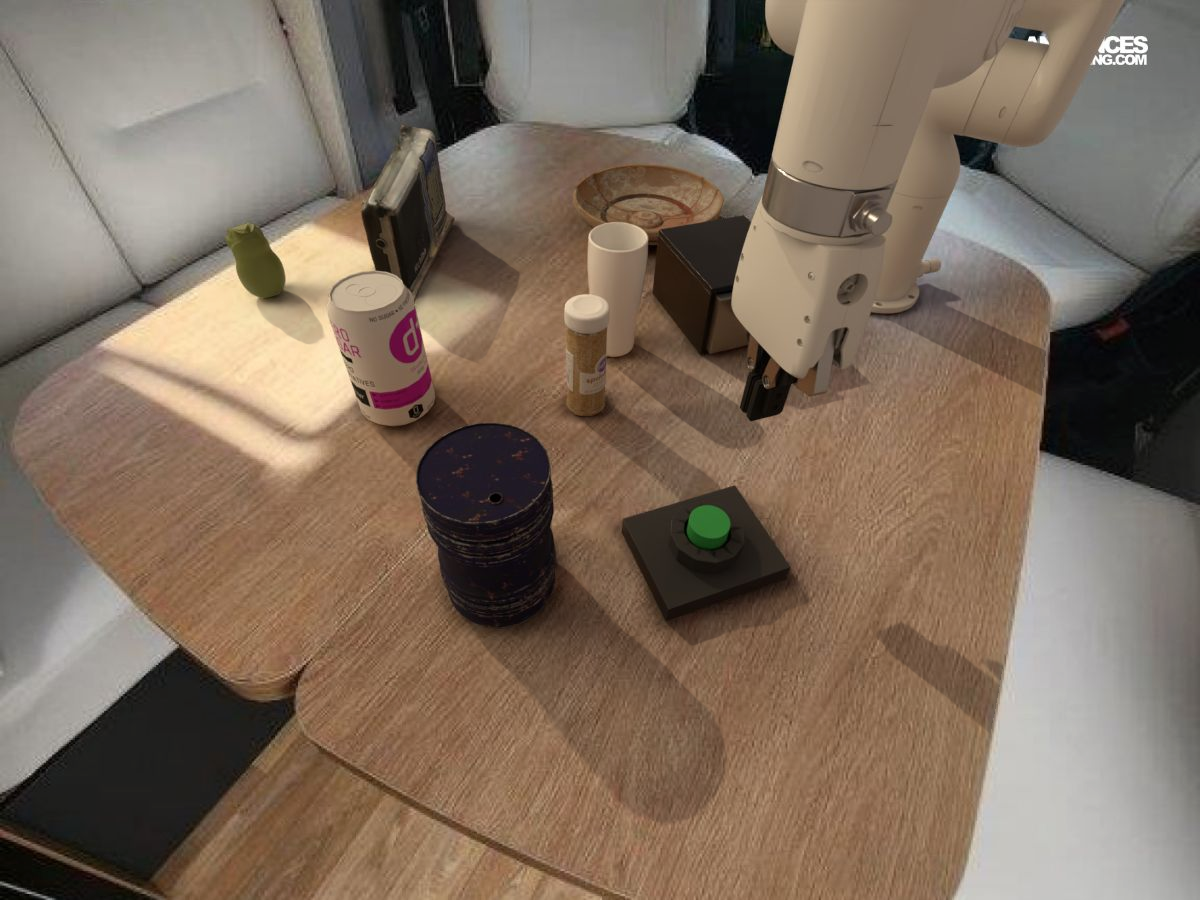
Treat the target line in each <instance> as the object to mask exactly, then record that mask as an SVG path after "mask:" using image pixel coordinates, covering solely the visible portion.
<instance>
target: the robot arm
mask: <svg viewBox="0 0 1200 900" xmlns="http://www.w3.org/2000/svg"><path fill="white" fill-rule="evenodd" d="M1124 2H1125V0H765V7H764V9H765V10H764V11H765V13H764V15H765V17H764V18H765V22H766V29H767V31H768V32H767V33H768V34H769V36H770V38H771V40H772V41H773V43H774V44H775V45H776V46H777V47H778V48H779V49H780V50H781V51H782V52H784V53H785V54H788V55H790V56H792V57H793V60H792V65H791V70H790V74H789V78H788V83H787V86H786V92H785V96H784V99H783V105H782V108H781V113H780V118H779V122H778V126H777V130H776V136H775V140H774V144H773V149H772V153H771V157H770V161H769V165H768V170H767V175H766V180H765V183H764V188H763V192H762V195H761V198H760V200H759V202H758V204H757V207H756V209H755V211H754V214H753V217H752V220H751V225H750V228H749V231H748V233H747V236H746V240H745V243H744V246H743V249H742V253H741V256H740V260H739V264H738V268H737V272H736V276H735V281H734V286H733V292H732V302H731V305H732V309H733V312H734V314H735V316H736V317H737V319H738V320H739V321H740V323H741V324H742V326H743V328H744V329H745V331H746V333H747V334H746V336H747V339H748V344H749V345H747V352H746V360H745V361H746V362H745V363H746V365H747V366H746V367H747V369H748V370H750V372H748V374H747V378H746V381H745V385H744V388H743V393H742V397H741V401H740V404H739V409H740V410H741V412H742V413H743V414H745V416H746V418H747V419H748V420H749V422H754V421H760V420H763V419H766V418H771V417H775V416H778V415H780V414H781V413H783V411H784V408H785V405H786V402H787V399H788V396H789V393H790V390H791V387H792V385H794V386H795V388H796V389H797V390H799V391H800V392H802V393H804V395H806V396H807V397H810V398H811V397H815V396H819V395H823V394H826V393H828V391H829V386H830V385H829V384H830V379H831V372H832V367H833V365H834V366H836V367H838V368H839V369H840V370H844V369H847V368H850V367H851V365H852V364H853V362H854V360H855V358H856V356H857V353H858V351H859V348H860V346H861V343H862V341H863V338H864V334H865V332H866V329H867V326H868V323H869V320H870V317H871V313H873V314H883V315H884V314H885V315H887V314H898V313H902V312H904V311H907V310H909V309H911V308H913V306H915V304H916V302H917V301H918V298H919V296H920V288H919V286H918V284H917V281H918V279H920V278H921V277H923V276H924V275H929V274H933V273H937V272H939V271H940V270H941V268H942V262H941V260H940V259H939V258H937V257H933V258H930V259H925V260H923V259H924V256H925V255H926V253H927V250H928V248H929V245H930V243H931V241H932V239H933V236H934V234H935V232H936V230H937V227H938V225H939V223H940V221H941V219H942V216H943V214H944V211H945V209H946V207H947V205H948V202H949V200H950V198H951V196H952V194H953V192H954V189H955V187H956V184H957V183H958V180H959V176H960V172H961V159H960V152H959V148H958V146H957V141H956V138H955V135H956V136H960V137H961V136H962V137H969V138H973V139H978V140H983V141H987V142H991V143H995V144H999V145H1005V146H1011V147H1016V148H1029V147H1034V146H1037V145H1039V144H1041V143H1042V142H1044V141H1045V140H1046V139H1047V138H1048V137H1049V136H1050V135H1051V134H1052V133H1053V132H1054V130H1055V129H1056V128H1057V127H1058V125H1059V124H1060V122H1061V120H1062V119H1063V117H1064V116H1065V114H1066V112H1067V110H1068V108H1069V107H1070V105H1071V103H1072V101H1073V99H1074V97H1075V96H1076V94H1077V92H1078V91H1079V88H1080V86H1081V85H1082V82H1083V80H1084V79H1085V76H1086V74H1087V73H1088V71H1089V69H1090V67H1091V65H1092V63H1093V61H1094V59H1095V57H1096V55H1097V54H1098V52H1099V50H1100V48H1101V46H1102V45H1103V42H1104V41H1105V38H1106V36H1107V35H1108V33H1109V30H1110V29H1111V27H1112V25H1113V23H1114V21H1115V19H1116V17H1117V15H1118V14H1119V11H1120V10H1121V8H1122V6H1123V4H1124ZM1014 28H1021V29H1027V30H1034V31H1039V32H1043V33H1044V34H1045V35H1046V37H1047V39H1048V43H1041V42H1036V41H1030V40H1025V39H1018V38H1013V37H1010V35H1011V34H1012V32H1013V31H1014Z"/></svg>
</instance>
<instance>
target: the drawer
mask: <svg viewBox="0 0 1200 900" xmlns="http://www.w3.org/2000/svg"><path fill="white" fill-rule="evenodd" d="M732 292H733V290H731V291H726V292H721V293H717V295H715V301H714V306H713V311H712V317H711V322H710V327H709V333H708V338H707V343H706V350H707V351H708V352H709V353H708V354H710V355H711V354H717V353H720V352H725V351H729V350H732V349H737V348H741V347H745V346H748V345H749V344H748V339H747V336H746V334H747V333H746V331H745V329H744V328H743V326H742V324H741V323H740V321H739V320H738V319H737V317H736V316H735V314H734V312H733V309H732V305H731V302H732Z"/></svg>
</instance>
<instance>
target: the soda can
mask: <svg viewBox="0 0 1200 900" xmlns="http://www.w3.org/2000/svg"><path fill="white" fill-rule="evenodd" d="M326 312H327V318H328V320H329V324H330V327H331V330H332V332H333V335H334V338H335V340H336V343H337V346H338V349H339V352H340V354H341V357H342V360H343V363H344V366H345V369H346V372H347V374H348V377H349V381H350V383H351V386H352V388H353V392H354V394H355V397H356V400H357V403H358V405H359V406H358V407H359V408H360V411H361V413H362V414H363V416H364V418H366V419H367V420H368V421H371V422H373V423H375V424H377V425H382V426H388V427H398V426H405V425H408V424H411V423H413V422H417V420H419V419H421V418H422V417H424V416H425V414H427V413H428V412H429V410H430V409H432V407H433V406H434V403H435V399H436V392H435V388H434V384H433V379H432V375H431V370H430V366H429V361H428V357H427V352H426V347H425V344H424V343H425V342H424V339H423V335H422V330H421V326H420V321H419V316H418V313H417V308H416V304H415V299H413V296H412V293H411V291H410V290H409V289H408V288H407V287H406V286H405V285H404V284H403V282H402V280H401V279H400V278H398V277H397V276H396V275H394V274H391V273H388V272H382V271H375V270H366V271H360V272H355V273H352V274H349V275H347V276H345V277H343V278H341V279H339V280H338V281H337V282H335V283H334V284H333V285H332V286H331V288H330V290H329V291H328V301H327V305H326Z"/></svg>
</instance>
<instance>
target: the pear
mask: <svg viewBox="0 0 1200 900" xmlns="http://www.w3.org/2000/svg"><path fill="white" fill-rule="evenodd" d="M225 243H226V245H227V247H229V249H230V250H231V252H232V255H233V257H234V260H235V271H236V275H237V277H238V279H239V281H240V283H241V285H242V286H243V288H244V289H245V290H246V291H247V292H249V293H250V294H251V295H253V296H254V297H258V298H260V299H261V298H263V299H266V298H272V297H275V296H277V295H279V294H280V293H281V292H283V290H284V288H285V286H286V279H287V278H286V272H285V268H284V264H283V263H282V261H281V259H280V258H279V255H277V254H276V253H275V252H274V251H273V249H272V248H271V245H270V242H269V241H268V239H267V237H266V236H265V234H264V232H263V230H262V229H261V228H260V227H258V226H256V225H255V223H253V222H252V221H251V222H249V221H248V222H245V223H243V224H239V225H236V226H232V227H228V228H227V229H226V237H225Z"/></svg>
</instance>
